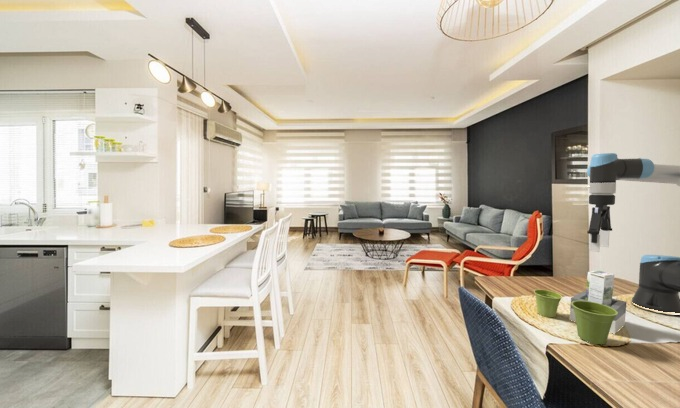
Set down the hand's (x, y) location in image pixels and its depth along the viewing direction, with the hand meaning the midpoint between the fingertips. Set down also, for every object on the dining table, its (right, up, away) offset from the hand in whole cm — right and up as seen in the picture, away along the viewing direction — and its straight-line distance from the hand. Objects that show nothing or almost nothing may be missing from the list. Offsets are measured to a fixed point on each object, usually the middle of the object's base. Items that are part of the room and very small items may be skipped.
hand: (599, 249), depth 114 cm
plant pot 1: (-17, -27, +4) cm, 33 cm away
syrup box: (-3, -23, -3) cm, 23 cm away
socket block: (-3, -28, -2) cm, 28 cm away
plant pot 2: (-16, -29, -15) cm, 36 cm away
